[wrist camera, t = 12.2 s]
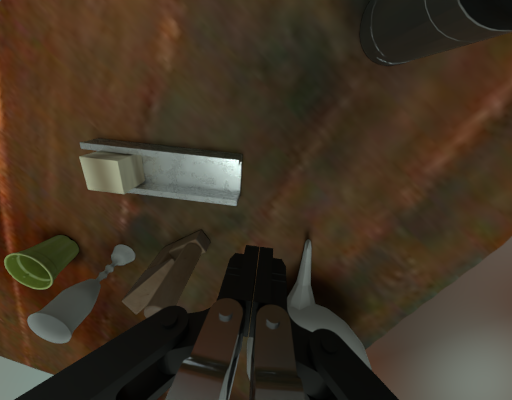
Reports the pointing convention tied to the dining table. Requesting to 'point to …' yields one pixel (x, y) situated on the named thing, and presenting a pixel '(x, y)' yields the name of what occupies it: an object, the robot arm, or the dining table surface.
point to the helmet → (314, 312)
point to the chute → (181, 171)
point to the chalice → (74, 303)
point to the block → (112, 171)
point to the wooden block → (167, 275)
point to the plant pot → (41, 262)
